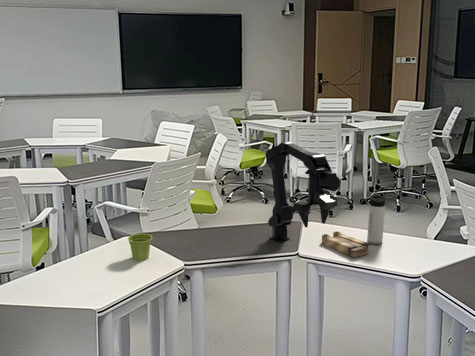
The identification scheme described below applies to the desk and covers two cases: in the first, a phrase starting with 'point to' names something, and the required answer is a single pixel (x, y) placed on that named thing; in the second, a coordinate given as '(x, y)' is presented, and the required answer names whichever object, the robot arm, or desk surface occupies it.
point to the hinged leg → (337, 244)
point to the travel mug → (376, 220)
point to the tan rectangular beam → (360, 245)
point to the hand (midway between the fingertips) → (314, 225)
